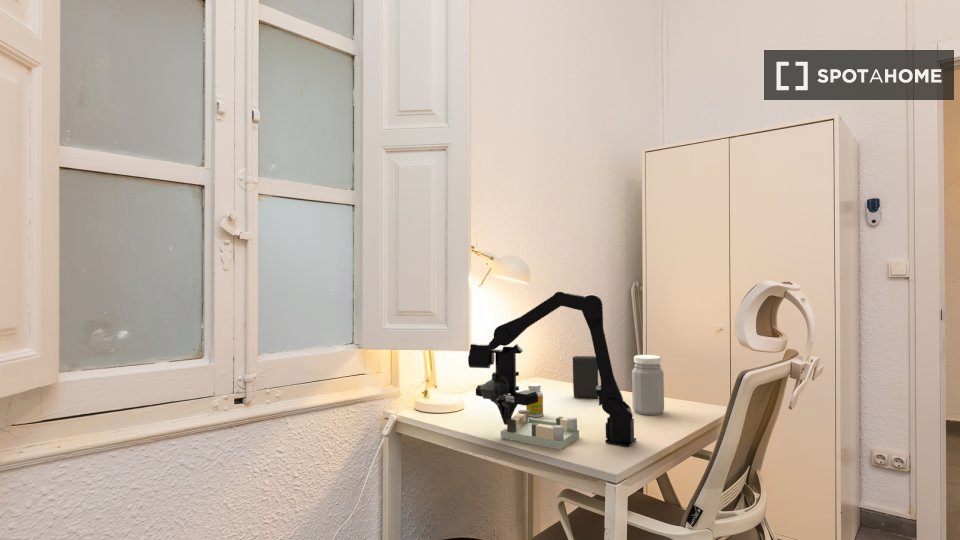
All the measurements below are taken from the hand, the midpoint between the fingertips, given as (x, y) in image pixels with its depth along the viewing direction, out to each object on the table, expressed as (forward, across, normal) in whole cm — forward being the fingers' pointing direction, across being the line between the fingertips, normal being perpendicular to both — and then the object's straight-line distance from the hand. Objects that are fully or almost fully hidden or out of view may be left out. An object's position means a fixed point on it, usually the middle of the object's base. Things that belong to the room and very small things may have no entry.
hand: (506, 424), depth 141 cm
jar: (+3, +19, +49) cm, 53 cm away
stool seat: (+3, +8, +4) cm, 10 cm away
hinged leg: (+1, +2, +3) cm, 4 cm away
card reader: (+3, -7, +54) cm, 54 cm away
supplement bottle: (+3, -7, +22) cm, 23 cm away
